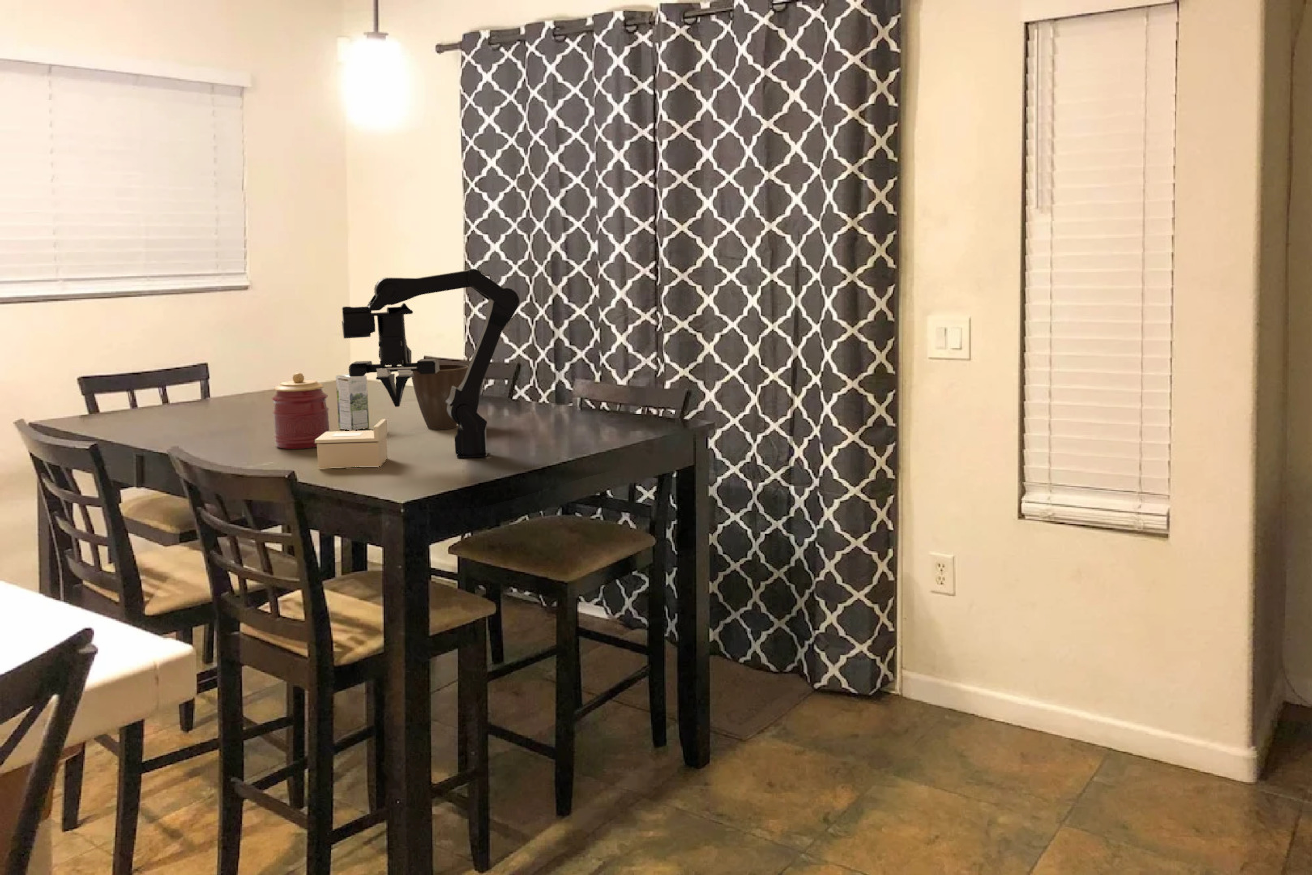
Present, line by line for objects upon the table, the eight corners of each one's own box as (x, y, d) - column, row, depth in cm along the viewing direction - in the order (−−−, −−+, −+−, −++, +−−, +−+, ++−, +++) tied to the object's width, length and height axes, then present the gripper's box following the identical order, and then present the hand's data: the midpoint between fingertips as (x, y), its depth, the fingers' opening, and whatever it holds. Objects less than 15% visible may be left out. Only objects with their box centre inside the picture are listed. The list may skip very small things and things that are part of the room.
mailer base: (387, 458, 248) (386, 434, 247) (379, 467, 238) (377, 442, 237) (329, 460, 247) (327, 436, 246) (318, 469, 237) (316, 444, 236)
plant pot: (424, 422, 297) (421, 363, 294) (478, 422, 295) (475, 363, 292) (405, 432, 283) (401, 370, 280) (460, 432, 281) (457, 370, 278)
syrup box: (356, 426, 293) (353, 372, 290) (370, 428, 289) (366, 374, 286) (338, 429, 288) (334, 375, 286) (352, 432, 285) (348, 376, 282)
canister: (263, 448, 264) (257, 375, 261) (298, 439, 276) (293, 369, 273) (308, 450, 259) (303, 376, 256) (342, 441, 271) (337, 370, 268)
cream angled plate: (387, 432, 247) (386, 418, 247) (379, 441, 237) (378, 426, 236) (326, 434, 246) (325, 420, 246) (314, 443, 236) (313, 428, 235)
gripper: (441, 331, 248) (445, 399, 250) (358, 334, 247) (363, 402, 250) (432, 335, 237) (437, 407, 239) (345, 338, 236) (351, 410, 239)
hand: (397, 406), depth 242 cm, fingers closed
